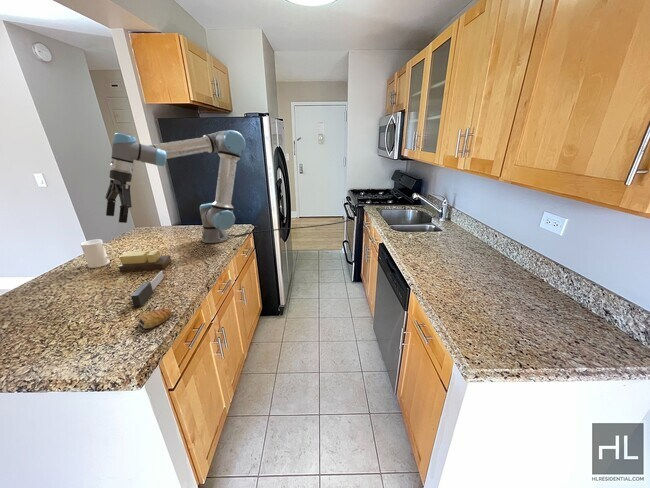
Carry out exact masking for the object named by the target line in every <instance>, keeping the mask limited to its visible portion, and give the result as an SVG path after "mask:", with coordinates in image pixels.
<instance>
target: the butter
mask: <svg viewBox="0 0 650 488" xmlns="http://www.w3.org/2000/svg"><path fill="white" fill-rule="evenodd" d="M149 253H150V251H149V250H133V251H125V252H123V254H121V255H120V256H119V260H120V264H135V263H145V262H146V261H147V260H148V258H147V254H149Z"/></svg>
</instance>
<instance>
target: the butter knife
mask: <svg viewBox="0 0 650 488" xmlns="http://www.w3.org/2000/svg"><path fill="white" fill-rule="evenodd" d="M164 278H165V276H164V271H163V270H160V271H159V272H158V273H157V275H155V276H154V277H153V279H151V281H146V282H145V281H144V282H143V283H141V285H140V286H139V287H137V288H136V290H134V292H133V293H131V295H130V299H131V302H132V305H133V308H142V307H143V306H144V305H145V304H146V302H147V301H148V300H149V298H151V296H152V295H153V294H154V290H155V289H156V288H157V286H159V284H160V283H161V282H162V281H163V280H164Z"/></svg>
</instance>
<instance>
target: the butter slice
mask: <svg viewBox="0 0 650 488" xmlns="http://www.w3.org/2000/svg"><path fill="white" fill-rule="evenodd" d="M160 256H161V252H160V249H156V250H155V249H152V250H151V251H149V254H147V258H148V262H149V263H152V262H156V261H157V260H158V259H159V258H160Z"/></svg>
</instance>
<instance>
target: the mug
mask: <svg viewBox="0 0 650 488" xmlns="http://www.w3.org/2000/svg"><path fill="white" fill-rule="evenodd" d="M106 247H108V248H109V249H110V250H111V254H109V255H108V254H107V251H106ZM80 248H81V250H82V252H83V255H84V259H85V260H86V264H87V268H90V269H96V268H101V267H103V266H107V265H109V264H110V263H111V261H110V258H111V257H112V256H113V255H114V249H113V247H112V246H111V245H110V244H107V243H105V242H103V239H101V238H100V239H99V238H94V239H89V240H85V241H82V242H80Z"/></svg>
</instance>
